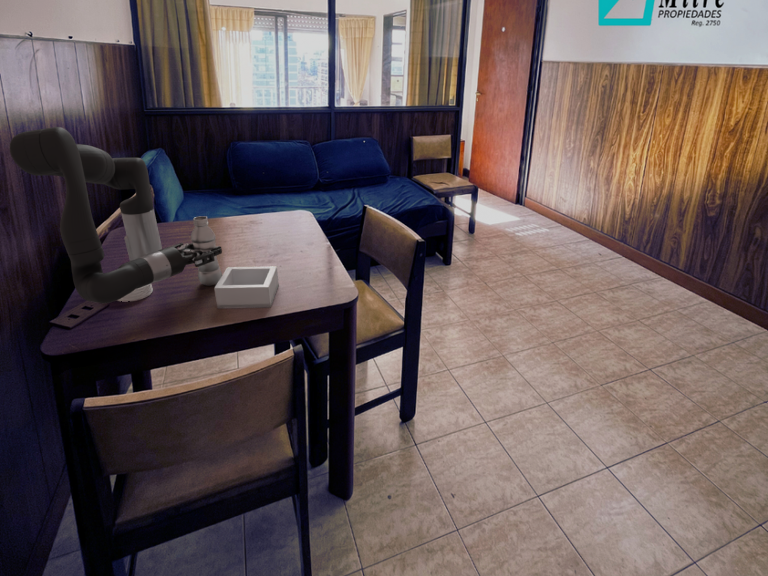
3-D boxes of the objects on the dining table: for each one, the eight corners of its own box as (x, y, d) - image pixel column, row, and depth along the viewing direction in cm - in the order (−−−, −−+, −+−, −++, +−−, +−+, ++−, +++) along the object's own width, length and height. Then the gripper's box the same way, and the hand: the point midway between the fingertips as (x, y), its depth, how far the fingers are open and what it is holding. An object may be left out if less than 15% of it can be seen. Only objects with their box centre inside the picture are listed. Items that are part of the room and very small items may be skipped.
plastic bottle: (216, 289, 139) (205, 222, 130) (195, 287, 140) (182, 220, 131) (227, 280, 144) (217, 215, 136) (206, 278, 146) (195, 214, 137)
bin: (217, 308, 128) (214, 288, 125) (230, 286, 141) (227, 267, 138) (270, 307, 129) (268, 287, 126) (278, 285, 141) (276, 266, 139)
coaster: (157, 286, 141) (155, 275, 140) (146, 301, 132) (143, 290, 131) (121, 288, 140) (119, 277, 138) (108, 303, 131) (105, 292, 130)
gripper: (175, 257, 121) (226, 238, 134) (141, 246, 128) (192, 229, 141) (180, 284, 125) (229, 263, 137) (147, 272, 132) (196, 253, 144)
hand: (210, 246), depth 139 cm, fingers open, 8 cm apart
